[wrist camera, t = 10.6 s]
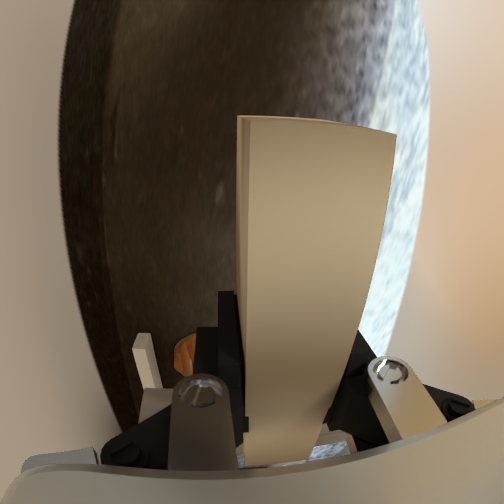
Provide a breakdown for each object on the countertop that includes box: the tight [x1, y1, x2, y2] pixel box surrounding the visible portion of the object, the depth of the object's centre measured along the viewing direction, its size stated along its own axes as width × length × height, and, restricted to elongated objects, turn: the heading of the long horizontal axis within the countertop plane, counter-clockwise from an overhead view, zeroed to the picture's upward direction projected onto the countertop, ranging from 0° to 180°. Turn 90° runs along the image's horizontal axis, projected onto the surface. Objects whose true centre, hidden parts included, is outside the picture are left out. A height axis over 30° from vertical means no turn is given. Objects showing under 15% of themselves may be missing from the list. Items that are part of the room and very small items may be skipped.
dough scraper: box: [138, 115, 397, 466], centre depth 9 cm, size 12×11×4 cm
